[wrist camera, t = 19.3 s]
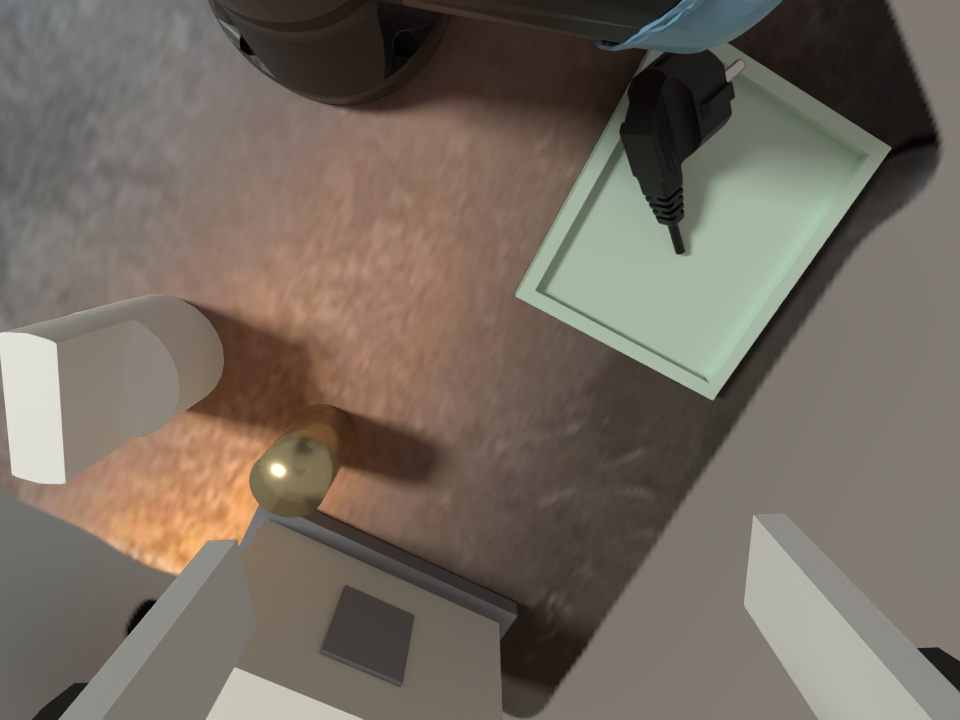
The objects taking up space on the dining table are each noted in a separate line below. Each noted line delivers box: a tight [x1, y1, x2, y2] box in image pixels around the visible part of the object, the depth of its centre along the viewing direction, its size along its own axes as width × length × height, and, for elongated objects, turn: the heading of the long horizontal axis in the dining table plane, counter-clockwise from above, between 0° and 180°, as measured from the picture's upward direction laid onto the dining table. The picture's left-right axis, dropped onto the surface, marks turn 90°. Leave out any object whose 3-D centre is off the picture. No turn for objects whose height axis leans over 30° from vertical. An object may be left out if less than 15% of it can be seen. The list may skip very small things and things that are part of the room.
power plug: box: [619, 49, 745, 255], centre depth 32 cm, size 6×8×12 cm
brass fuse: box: [249, 405, 355, 518], centre depth 37 cm, size 5×5×8 cm
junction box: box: [206, 504, 518, 720], centre depth 39 cm, size 24×10×14 cm, turn 61°
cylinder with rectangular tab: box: [0, 294, 224, 484], centre depth 33 cm, size 9×9×12 cm
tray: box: [515, 43, 891, 400], centre depth 35 cm, size 20×17×2 cm
